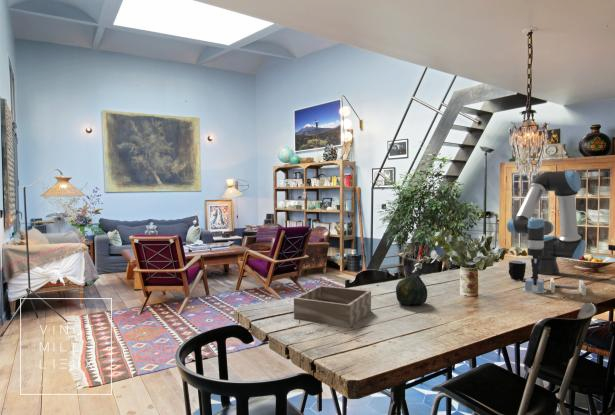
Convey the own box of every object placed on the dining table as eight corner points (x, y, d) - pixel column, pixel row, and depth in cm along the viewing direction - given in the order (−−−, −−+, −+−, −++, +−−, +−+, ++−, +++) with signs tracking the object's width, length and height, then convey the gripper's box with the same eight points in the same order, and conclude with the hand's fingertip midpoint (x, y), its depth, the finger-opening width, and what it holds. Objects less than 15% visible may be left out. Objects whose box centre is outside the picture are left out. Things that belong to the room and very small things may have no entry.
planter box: (320, 304, 204) (320, 285, 204) (370, 310, 192) (370, 291, 192) (294, 319, 182) (293, 298, 181) (349, 327, 170) (349, 305, 170)
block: (526, 286, 230) (527, 277, 230) (543, 288, 226) (543, 279, 226) (525, 290, 224) (525, 280, 223) (542, 292, 219) (542, 282, 219)
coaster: (523, 287, 232) (523, 286, 232) (546, 289, 227) (546, 288, 227) (522, 291, 223) (522, 290, 223) (547, 294, 217) (547, 292, 217)
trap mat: (555, 285, 234) (555, 285, 234) (576, 287, 230) (576, 287, 230) (555, 287, 231) (555, 286, 231) (577, 289, 226) (577, 288, 226)
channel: (550, 285, 236) (550, 277, 236) (582, 287, 229) (582, 280, 229) (551, 292, 220) (551, 284, 220) (585, 295, 213) (586, 287, 213)
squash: (384, 291, 206) (402, 271, 198) (404, 287, 215) (421, 268, 207) (402, 315, 198) (421, 295, 190) (421, 310, 208) (440, 291, 200)
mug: (514, 276, 258) (514, 260, 258) (528, 279, 251) (529, 262, 250) (502, 279, 252) (502, 262, 252) (516, 281, 245) (516, 264, 244)
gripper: (527, 244, 236) (527, 282, 238) (527, 251, 214) (526, 292, 216) (543, 245, 233) (542, 283, 234) (544, 251, 211) (543, 294, 212)
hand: (534, 288), depth 225 cm, fingers open, 13 cm apart
